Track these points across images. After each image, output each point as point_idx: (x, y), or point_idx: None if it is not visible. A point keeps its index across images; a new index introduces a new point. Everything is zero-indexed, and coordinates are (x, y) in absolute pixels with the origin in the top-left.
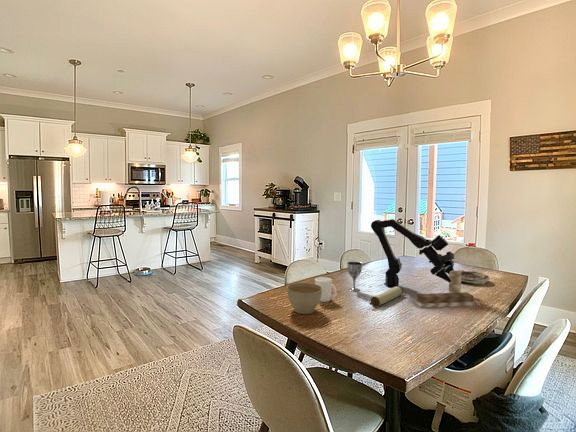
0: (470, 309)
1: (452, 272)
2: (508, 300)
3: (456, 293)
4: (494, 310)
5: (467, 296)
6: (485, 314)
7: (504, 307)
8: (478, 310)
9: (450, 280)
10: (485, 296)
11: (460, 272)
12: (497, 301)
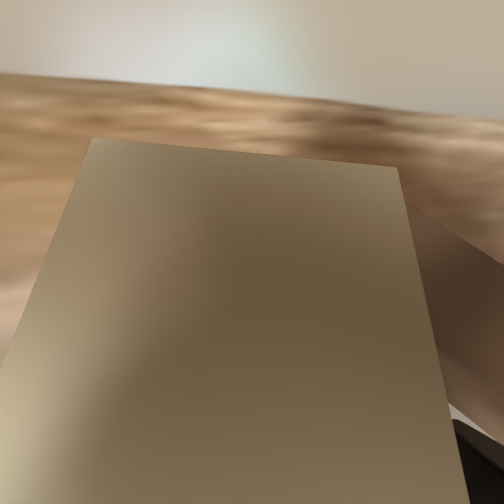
0: (488, 226)
1: (437, 374)
2: (65, 81)
3: (459, 327)
4: (363, 122)
5: (427, 223)
6: (486, 149)
7: (252, 91)
8: (455, 186)
9: (475, 429)
10: (34, 193)
11: (213, 151)
12: (138, 123)
